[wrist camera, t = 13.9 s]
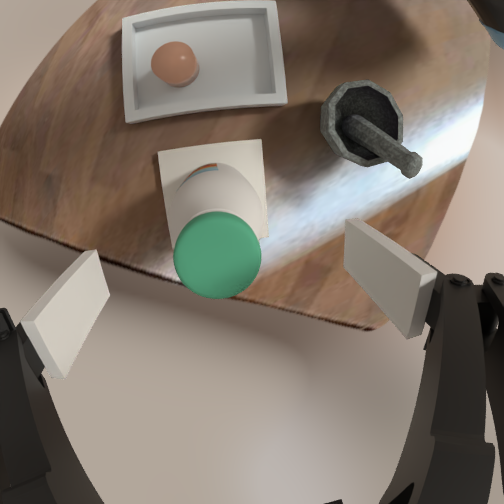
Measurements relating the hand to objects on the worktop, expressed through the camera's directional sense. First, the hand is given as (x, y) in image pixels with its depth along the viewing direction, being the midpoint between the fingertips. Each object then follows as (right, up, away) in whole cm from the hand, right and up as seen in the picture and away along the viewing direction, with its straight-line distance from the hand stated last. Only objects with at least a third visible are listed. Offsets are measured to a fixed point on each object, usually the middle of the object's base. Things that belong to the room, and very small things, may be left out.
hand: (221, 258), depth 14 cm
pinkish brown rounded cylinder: (-7, +21, +13) cm, 25 cm away
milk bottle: (-3, +7, +19) cm, 20 cm away
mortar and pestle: (+13, +16, +19) cm, 28 cm away
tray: (-4, +23, +13) cm, 27 cm away
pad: (-3, +7, +19) cm, 21 cm away
